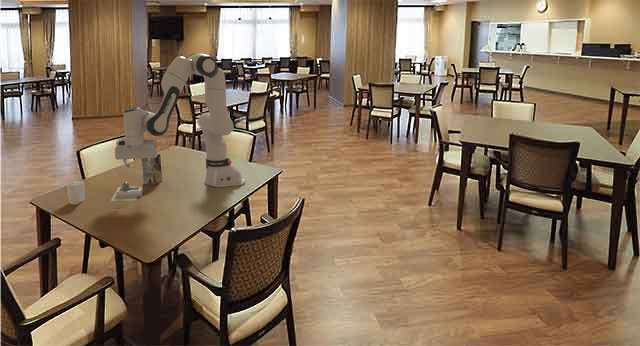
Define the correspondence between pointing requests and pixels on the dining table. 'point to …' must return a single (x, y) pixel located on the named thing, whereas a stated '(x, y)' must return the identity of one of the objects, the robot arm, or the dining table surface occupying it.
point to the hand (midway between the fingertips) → (137, 166)
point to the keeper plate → (122, 198)
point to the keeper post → (125, 186)
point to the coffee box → (152, 170)
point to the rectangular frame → (130, 192)
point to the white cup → (76, 192)
